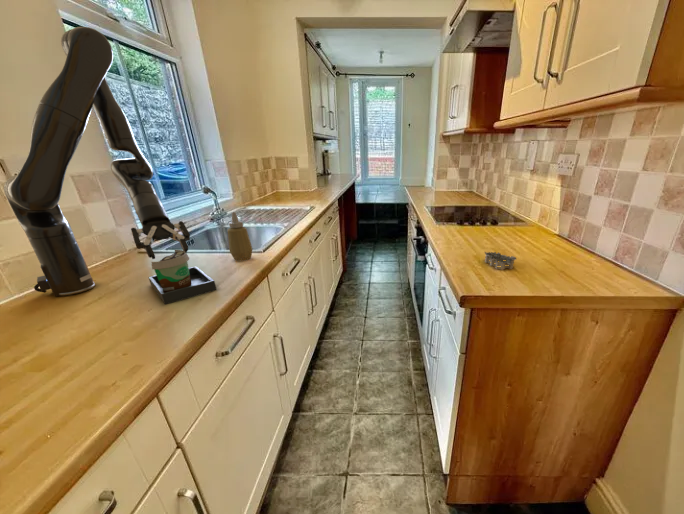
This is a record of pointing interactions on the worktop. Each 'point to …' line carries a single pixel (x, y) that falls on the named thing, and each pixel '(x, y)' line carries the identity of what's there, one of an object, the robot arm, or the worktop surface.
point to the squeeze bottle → (239, 240)
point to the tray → (198, 286)
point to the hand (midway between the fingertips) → (170, 254)
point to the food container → (173, 271)
